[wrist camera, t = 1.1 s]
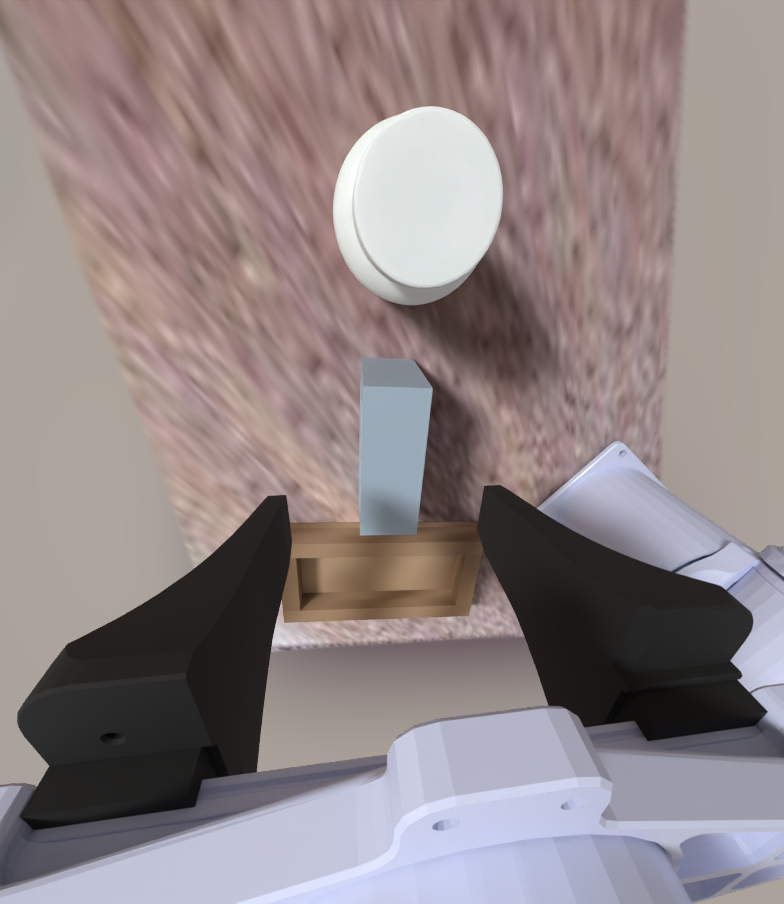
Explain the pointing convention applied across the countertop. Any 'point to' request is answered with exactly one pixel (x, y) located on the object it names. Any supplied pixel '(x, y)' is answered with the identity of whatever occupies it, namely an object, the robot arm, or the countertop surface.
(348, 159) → the supplement bottle
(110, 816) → the robot arm
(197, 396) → the countertop surface
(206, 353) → the countertop surface
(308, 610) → the wooden tray
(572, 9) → the countertop surface
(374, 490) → the grey rectangular block
